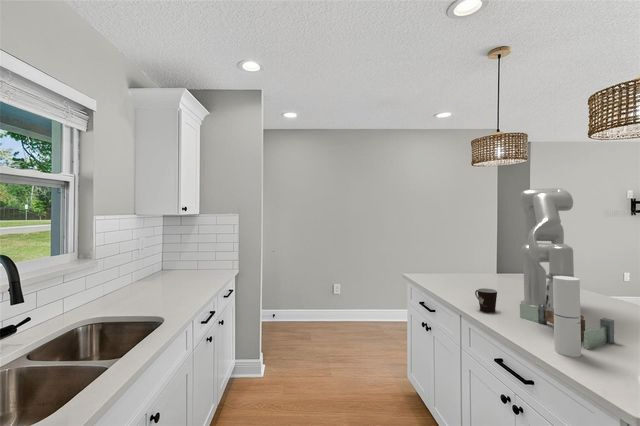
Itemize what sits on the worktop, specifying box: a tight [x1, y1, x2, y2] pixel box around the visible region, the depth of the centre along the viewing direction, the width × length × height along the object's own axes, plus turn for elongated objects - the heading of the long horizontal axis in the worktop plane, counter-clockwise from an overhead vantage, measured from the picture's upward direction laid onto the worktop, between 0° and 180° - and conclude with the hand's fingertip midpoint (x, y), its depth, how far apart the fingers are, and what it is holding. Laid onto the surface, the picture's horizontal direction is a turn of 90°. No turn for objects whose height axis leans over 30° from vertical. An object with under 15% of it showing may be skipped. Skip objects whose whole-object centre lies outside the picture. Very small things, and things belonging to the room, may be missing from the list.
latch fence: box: [583, 317, 615, 350], centre depth 114 cm, size 15×3×8 cm, turn 115°
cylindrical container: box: [553, 276, 582, 358], centre depth 109 cm, size 7×7×25 cm
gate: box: [545, 310, 586, 341], centre depth 126 cm, size 17×2×9 cm, turn 4°
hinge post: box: [519, 303, 548, 326], centre depth 141 cm, size 3×11×8 cm, turn 24°
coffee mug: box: [474, 287, 498, 314], centre depth 157 cm, size 12×9×10 cm
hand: (562, 326), depth 123 cm, fingers closed
